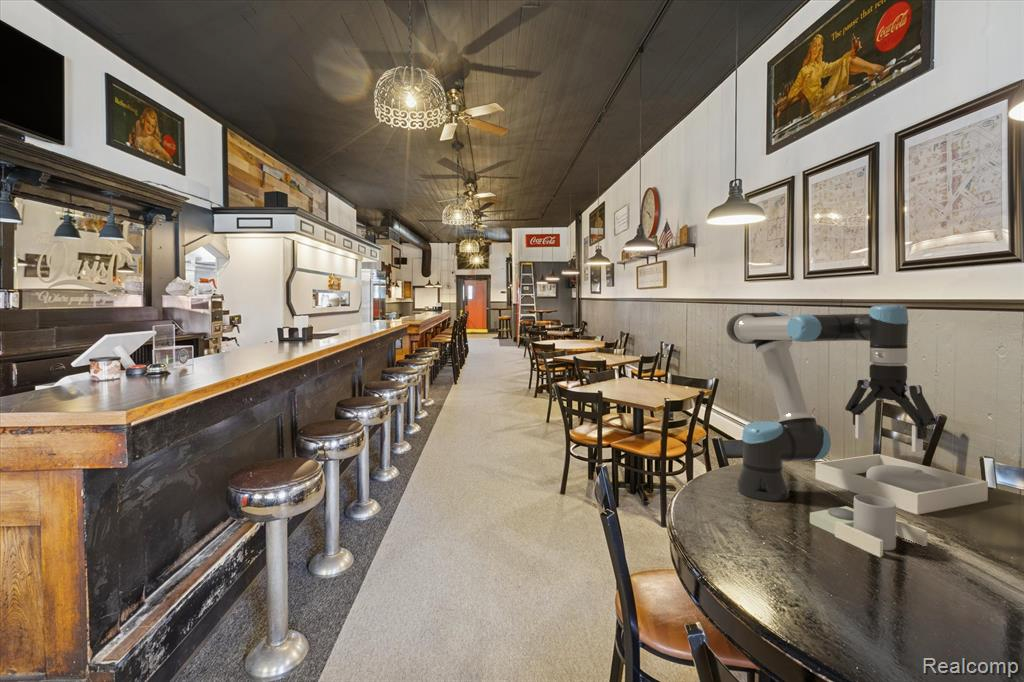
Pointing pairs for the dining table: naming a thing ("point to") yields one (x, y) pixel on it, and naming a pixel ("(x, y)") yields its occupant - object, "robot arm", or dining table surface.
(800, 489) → the dining table surface
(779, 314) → the robot arm
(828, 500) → the dining table surface
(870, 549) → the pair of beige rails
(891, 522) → the mug
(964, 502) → the shallow rectangular tray
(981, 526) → the dining table surface
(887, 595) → the dining table surface
